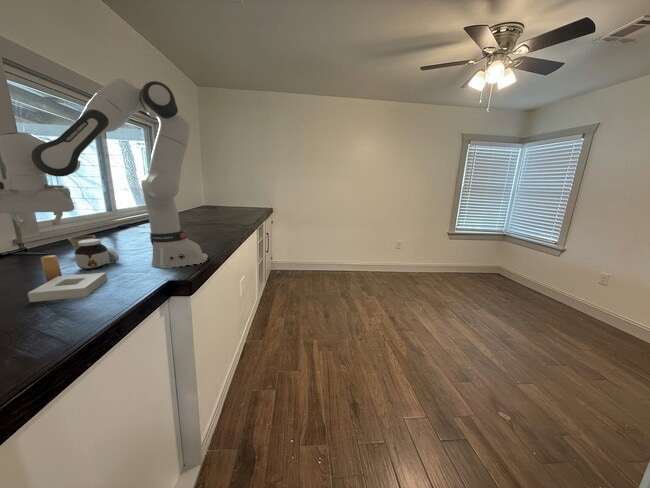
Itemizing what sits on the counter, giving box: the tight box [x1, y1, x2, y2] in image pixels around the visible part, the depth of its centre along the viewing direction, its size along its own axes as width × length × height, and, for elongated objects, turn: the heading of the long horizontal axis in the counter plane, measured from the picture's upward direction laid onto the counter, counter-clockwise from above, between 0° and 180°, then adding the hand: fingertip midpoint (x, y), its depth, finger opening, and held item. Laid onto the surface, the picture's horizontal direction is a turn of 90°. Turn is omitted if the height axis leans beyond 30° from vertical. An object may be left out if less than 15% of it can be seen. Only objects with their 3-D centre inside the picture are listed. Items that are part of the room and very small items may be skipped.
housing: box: [27, 272, 108, 303], centre depth 86 cm, size 14×14×3 cm
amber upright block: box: [40, 254, 63, 283], centre depth 93 cm, size 4×4×9 cm
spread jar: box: [74, 238, 120, 271], centre depth 108 cm, size 12×11×12 cm
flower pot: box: [67, 235, 96, 252], centre depth 123 cm, size 9×9×9 cm
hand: (39, 225), depth 89 cm, fingers open, 8 cm apart
